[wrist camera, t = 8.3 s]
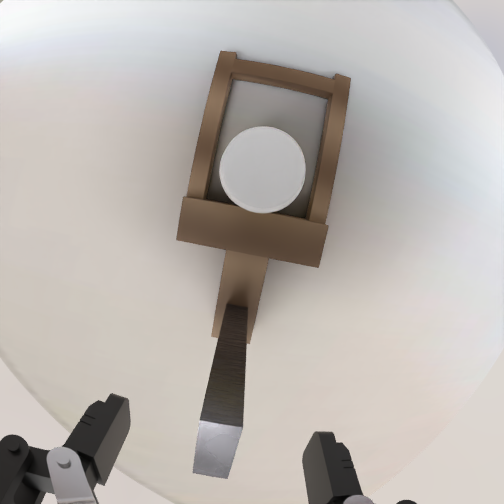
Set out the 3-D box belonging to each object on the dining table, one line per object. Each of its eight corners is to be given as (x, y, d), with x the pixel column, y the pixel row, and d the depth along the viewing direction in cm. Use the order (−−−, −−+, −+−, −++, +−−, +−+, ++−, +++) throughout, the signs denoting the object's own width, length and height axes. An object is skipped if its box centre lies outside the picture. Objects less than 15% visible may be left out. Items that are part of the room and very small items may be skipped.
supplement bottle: (303, 170, 21) (333, 156, 13) (268, 220, 22) (278, 237, 14) (251, 134, 21) (249, 100, 12) (216, 185, 21) (193, 181, 13)
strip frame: (222, 58, 19) (191, -66, 5) (345, 84, 19) (434, -11, 6) (172, 326, 23) (106, 447, 10) (287, 348, 24) (314, 483, 10)
